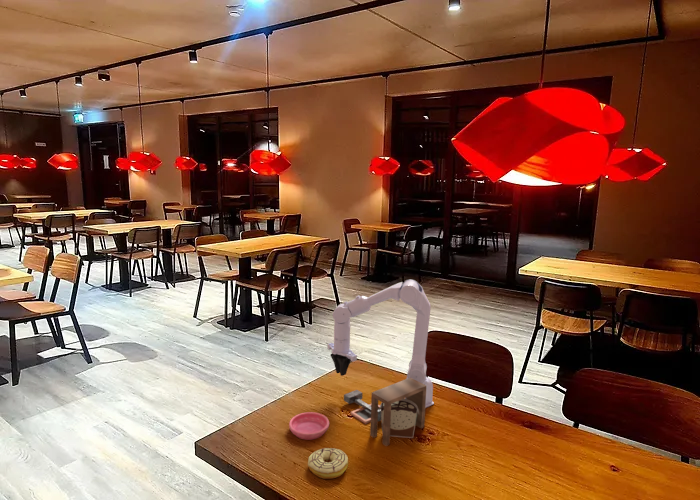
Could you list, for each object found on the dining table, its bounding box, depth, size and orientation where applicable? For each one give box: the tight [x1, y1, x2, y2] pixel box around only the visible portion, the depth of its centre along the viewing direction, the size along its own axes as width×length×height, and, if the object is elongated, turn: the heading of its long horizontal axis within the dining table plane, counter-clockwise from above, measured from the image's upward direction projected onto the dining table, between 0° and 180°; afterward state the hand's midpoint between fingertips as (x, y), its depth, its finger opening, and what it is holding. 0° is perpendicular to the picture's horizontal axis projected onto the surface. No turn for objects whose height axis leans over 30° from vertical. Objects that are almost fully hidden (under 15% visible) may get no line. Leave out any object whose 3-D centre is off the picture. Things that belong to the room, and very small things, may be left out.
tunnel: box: [369, 378, 427, 447], centre depth 138 cm, size 17×7×14 cm, turn 129°
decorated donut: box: [307, 447, 349, 480], centre depth 120 cm, size 10×11×4 cm
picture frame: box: [350, 403, 381, 425], centre depth 149 cm, size 11×8×1 cm
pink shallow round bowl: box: [288, 411, 330, 441], centre depth 138 cm, size 12×12×3 cm
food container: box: [379, 398, 419, 439], centre depth 138 cm, size 12×6×10 cm, turn 84°
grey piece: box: [343, 389, 382, 422], centre depth 150 cm, size 8×17×4 cm, turn 39°
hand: (341, 373), depth 160 cm, fingers closed
